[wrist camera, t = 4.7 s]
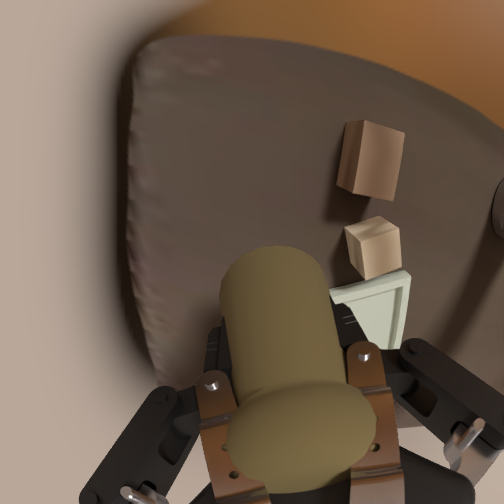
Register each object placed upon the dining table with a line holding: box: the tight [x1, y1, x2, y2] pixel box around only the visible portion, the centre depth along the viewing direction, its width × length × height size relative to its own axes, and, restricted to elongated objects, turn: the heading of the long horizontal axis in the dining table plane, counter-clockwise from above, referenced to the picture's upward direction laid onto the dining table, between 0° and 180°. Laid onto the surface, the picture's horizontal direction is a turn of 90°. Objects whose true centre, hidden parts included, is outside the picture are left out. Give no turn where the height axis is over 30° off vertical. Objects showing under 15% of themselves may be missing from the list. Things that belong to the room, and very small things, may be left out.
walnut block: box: [336, 120, 405, 201], centre depth 21 cm, size 4×6×4 cm, turn 173°
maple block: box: [344, 216, 402, 280], centre depth 24 cm, size 4×4×4 cm
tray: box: [329, 270, 411, 349], centre depth 30 cm, size 14×14×2 cm
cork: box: [219, 245, 378, 493], centre depth 10 cm, size 6×6×11 cm
